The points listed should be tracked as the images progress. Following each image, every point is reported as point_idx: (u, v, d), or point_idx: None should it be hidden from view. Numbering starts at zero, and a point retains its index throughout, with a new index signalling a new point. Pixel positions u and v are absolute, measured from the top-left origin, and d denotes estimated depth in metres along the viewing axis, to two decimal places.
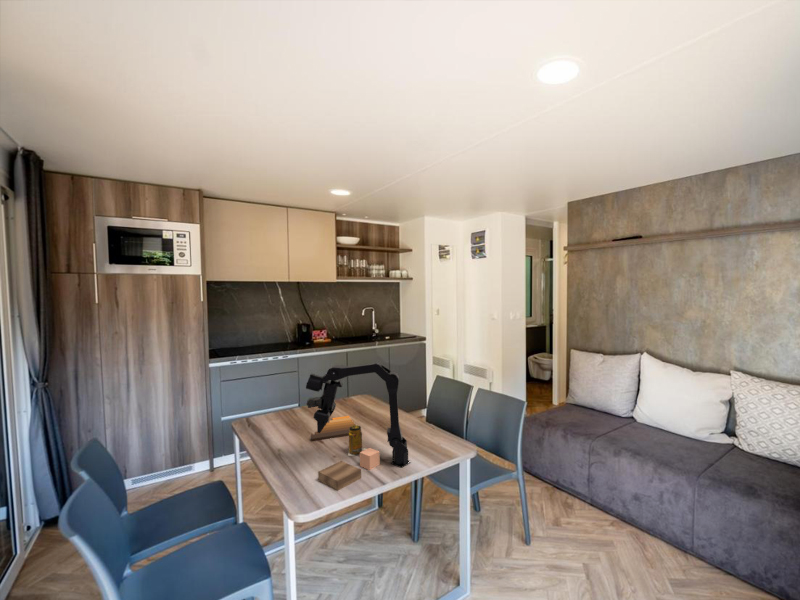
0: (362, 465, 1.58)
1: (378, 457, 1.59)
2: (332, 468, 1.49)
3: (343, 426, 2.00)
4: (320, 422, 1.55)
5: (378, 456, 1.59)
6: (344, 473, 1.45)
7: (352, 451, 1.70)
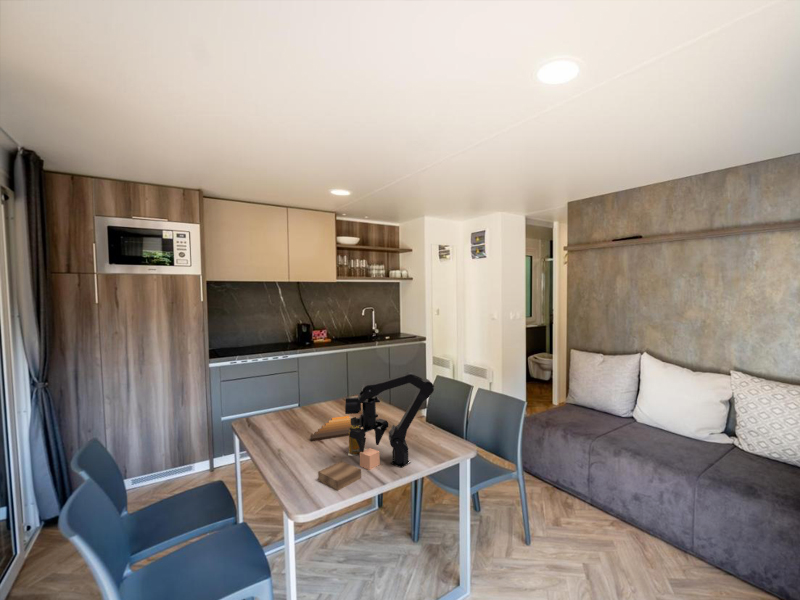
0: (362, 465, 1.58)
1: (378, 457, 1.59)
2: (332, 468, 1.49)
3: (343, 426, 2.00)
4: (359, 441, 1.54)
5: (378, 456, 1.59)
6: (344, 473, 1.45)
7: (352, 451, 1.70)
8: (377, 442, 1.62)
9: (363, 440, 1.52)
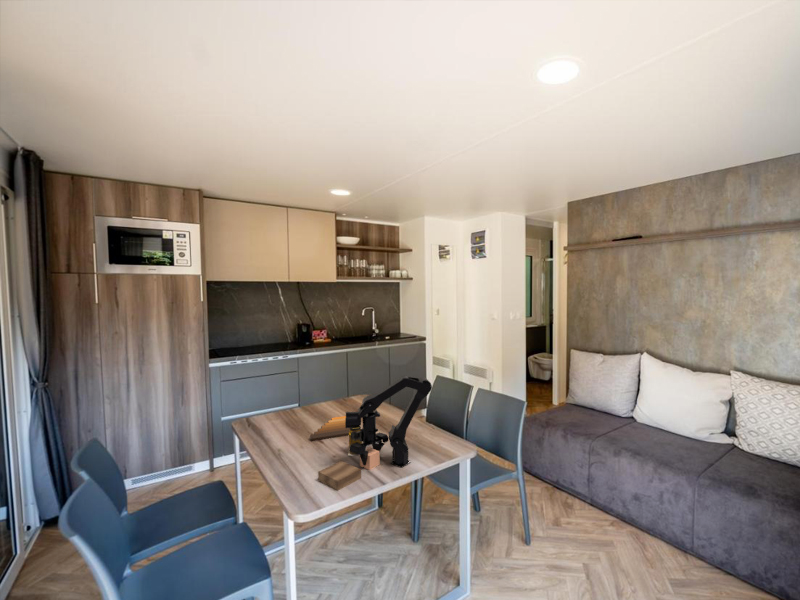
0: (362, 465, 1.58)
1: (378, 457, 1.59)
2: (332, 468, 1.49)
3: (342, 426, 2.00)
4: (362, 454, 1.56)
5: (378, 456, 1.59)
6: (344, 473, 1.45)
7: None
8: None
9: (365, 454, 1.53)
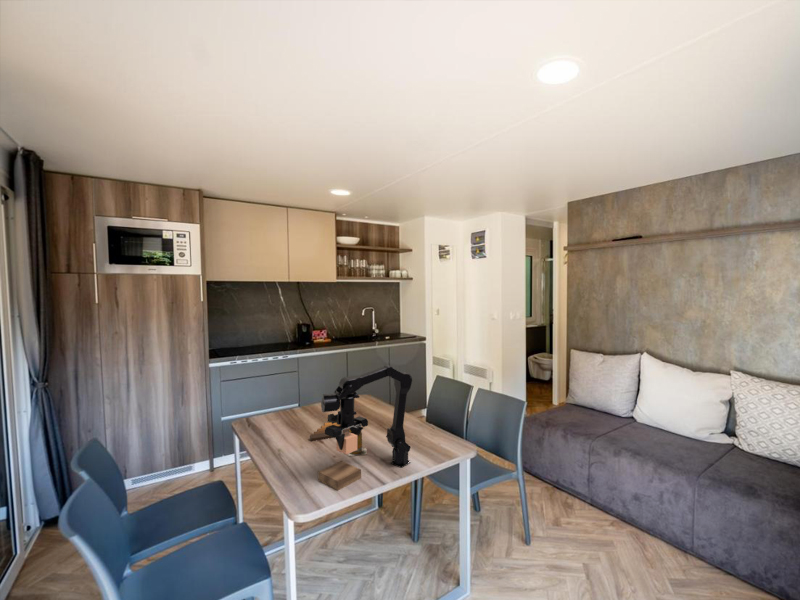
0: (338, 449, 1.49)
1: (356, 441, 1.50)
2: (332, 468, 1.49)
3: None
4: (338, 438, 1.47)
5: (356, 440, 1.50)
6: (344, 473, 1.45)
7: None
8: None
9: (342, 437, 1.45)
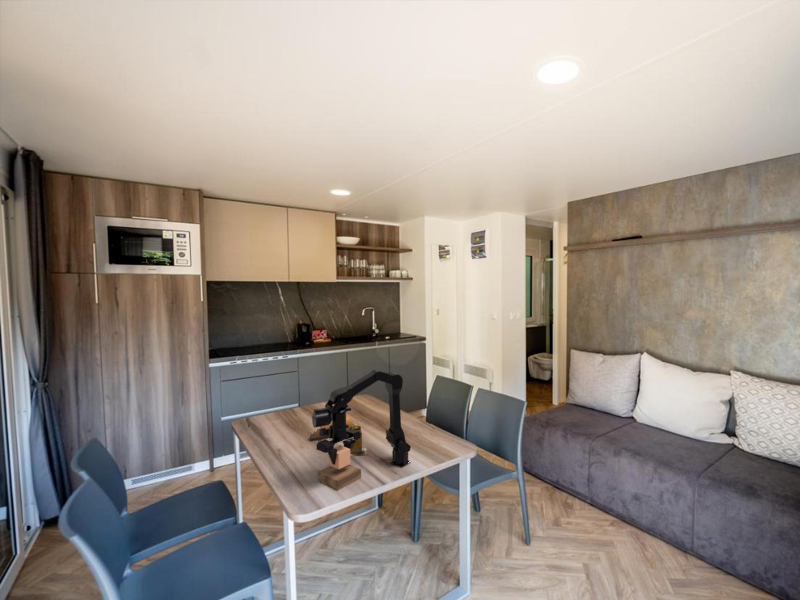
0: (331, 464, 1.46)
1: (349, 455, 1.47)
2: (332, 468, 1.49)
3: None
4: (330, 452, 1.44)
5: (349, 454, 1.47)
6: (344, 473, 1.45)
7: (352, 451, 1.70)
8: None
9: (334, 452, 1.42)
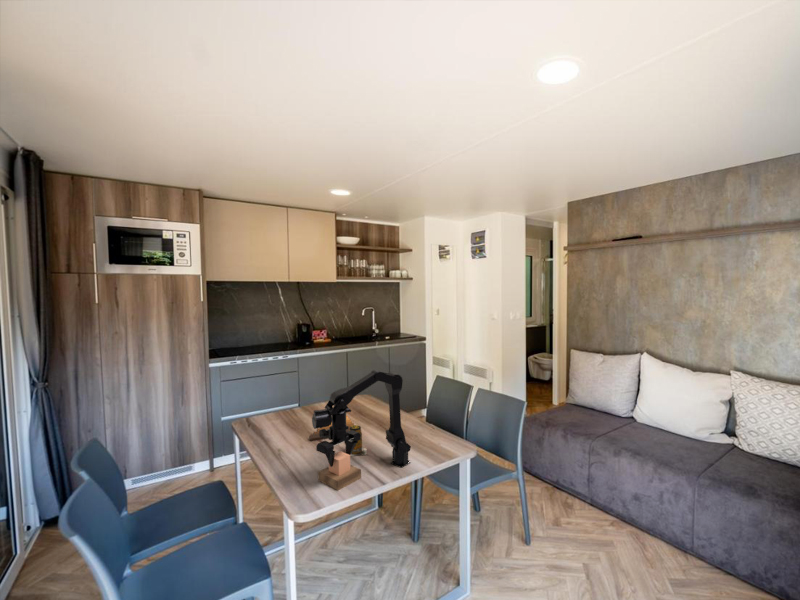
0: (331, 470, 1.46)
1: (349, 461, 1.47)
2: None
3: None
4: (328, 454, 1.43)
5: (349, 460, 1.47)
6: (344, 473, 1.45)
7: (352, 451, 1.70)
8: None
9: (332, 454, 1.41)
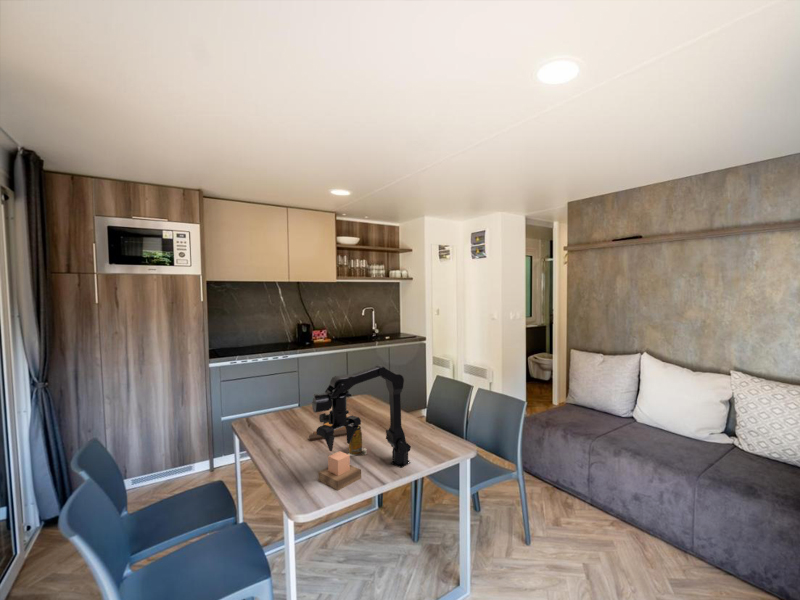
0: (330, 470, 1.46)
1: (348, 461, 1.47)
2: None
3: None
4: (327, 439, 1.43)
5: (348, 460, 1.47)
6: (344, 473, 1.45)
7: (352, 451, 1.70)
8: (348, 440, 1.50)
9: (331, 438, 1.40)
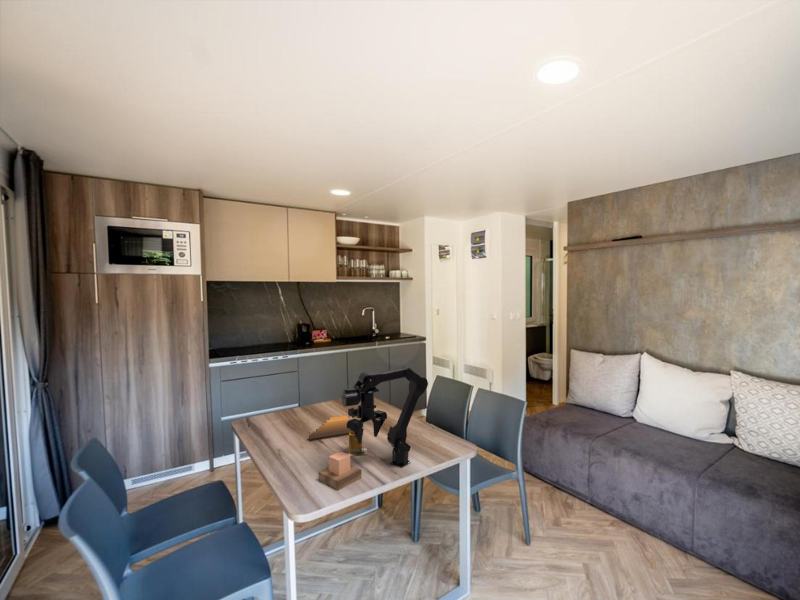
0: (331, 470, 1.46)
1: (349, 461, 1.47)
2: None
3: (341, 426, 2.00)
4: (357, 432, 1.49)
5: (349, 460, 1.47)
6: (344, 473, 1.45)
7: (352, 451, 1.70)
8: (375, 434, 1.57)
9: (361, 431, 1.47)
